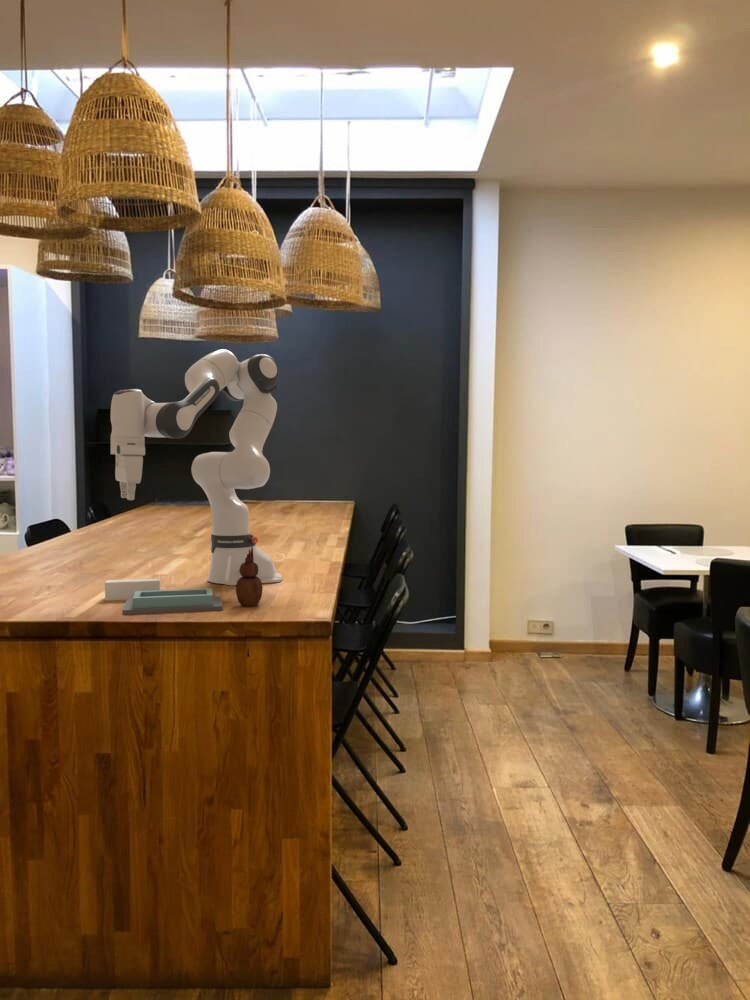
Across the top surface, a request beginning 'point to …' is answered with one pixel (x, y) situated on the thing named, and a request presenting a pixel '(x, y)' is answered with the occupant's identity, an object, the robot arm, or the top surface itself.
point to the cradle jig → (172, 601)
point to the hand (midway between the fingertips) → (127, 498)
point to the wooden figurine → (249, 583)
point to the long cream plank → (128, 588)
